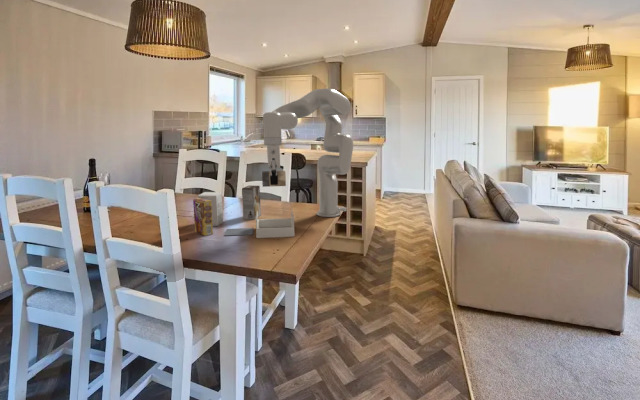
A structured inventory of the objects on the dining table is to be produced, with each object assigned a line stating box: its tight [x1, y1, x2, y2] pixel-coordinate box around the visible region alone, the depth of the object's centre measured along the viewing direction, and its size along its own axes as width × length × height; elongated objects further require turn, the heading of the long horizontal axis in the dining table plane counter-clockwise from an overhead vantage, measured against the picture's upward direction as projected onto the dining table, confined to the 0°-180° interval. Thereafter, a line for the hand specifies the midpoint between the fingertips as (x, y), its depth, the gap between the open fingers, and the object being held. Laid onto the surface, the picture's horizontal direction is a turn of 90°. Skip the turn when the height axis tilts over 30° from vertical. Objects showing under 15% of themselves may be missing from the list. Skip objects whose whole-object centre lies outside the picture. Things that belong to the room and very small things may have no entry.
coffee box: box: [241, 185, 262, 221], centre depth 197 cm, size 9×6×16 cm
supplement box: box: [197, 191, 224, 227], centre depth 185 cm, size 9×9×15 cm
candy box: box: [192, 197, 214, 237], centre depth 170 cm, size 9×4×15 cm, turn 47°
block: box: [261, 170, 287, 188], centre depth 168 cm, size 10×5×6 cm, turn 97°
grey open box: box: [255, 209, 295, 239], centre depth 172 cm, size 16×16×8 cm
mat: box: [224, 227, 254, 237], centre depth 172 cm, size 12×10×1 cm
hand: (274, 183), depth 168 cm, fingers closed on block, 5 cm apart
